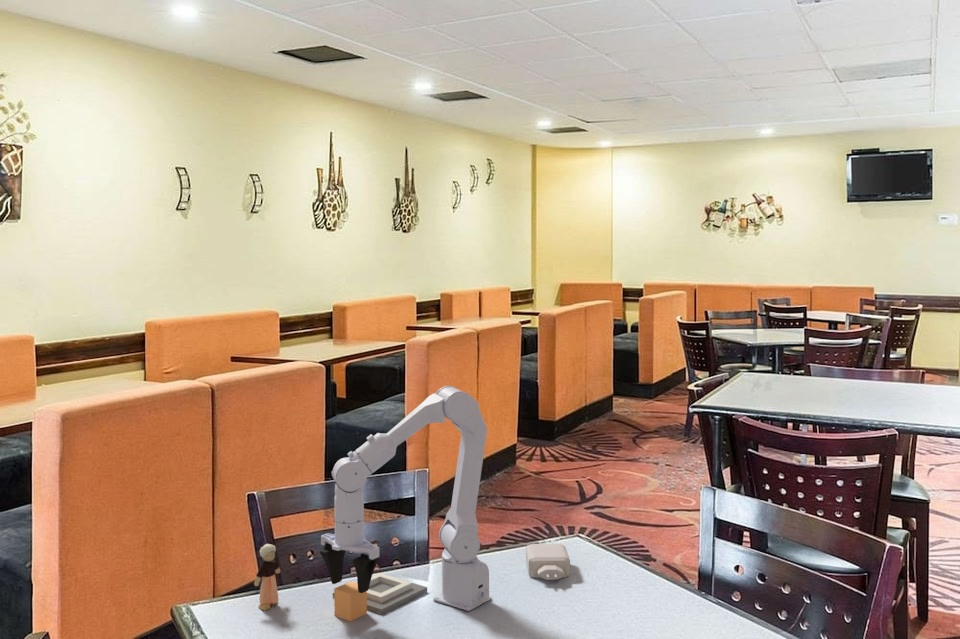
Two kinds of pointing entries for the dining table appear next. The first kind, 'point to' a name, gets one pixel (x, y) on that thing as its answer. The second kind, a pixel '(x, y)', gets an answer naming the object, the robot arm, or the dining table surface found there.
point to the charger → (547, 561)
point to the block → (349, 601)
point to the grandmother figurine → (267, 577)
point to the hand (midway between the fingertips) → (350, 586)
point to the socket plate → (390, 592)
